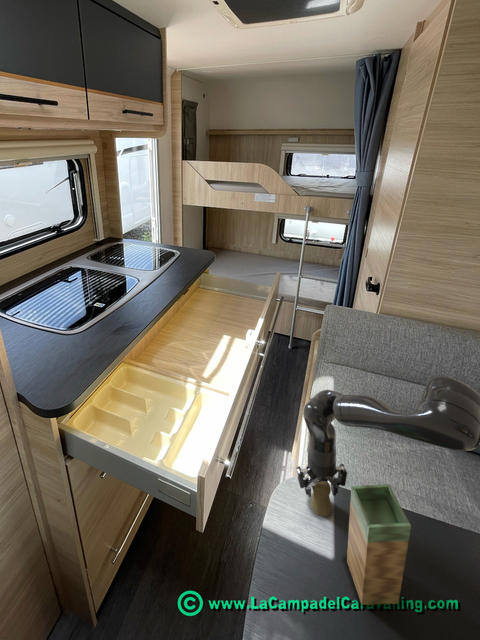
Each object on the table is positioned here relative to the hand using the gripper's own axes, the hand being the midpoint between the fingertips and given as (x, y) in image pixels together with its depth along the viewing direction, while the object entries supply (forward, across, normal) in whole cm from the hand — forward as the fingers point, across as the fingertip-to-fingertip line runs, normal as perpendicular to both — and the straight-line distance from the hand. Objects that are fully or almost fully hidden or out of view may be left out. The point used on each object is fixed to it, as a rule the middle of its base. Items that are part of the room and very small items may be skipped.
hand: (321, 493), depth 97 cm
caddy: (+7, +6, -18) cm, 20 cm away
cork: (+7, 0, 0) cm, 7 cm away
